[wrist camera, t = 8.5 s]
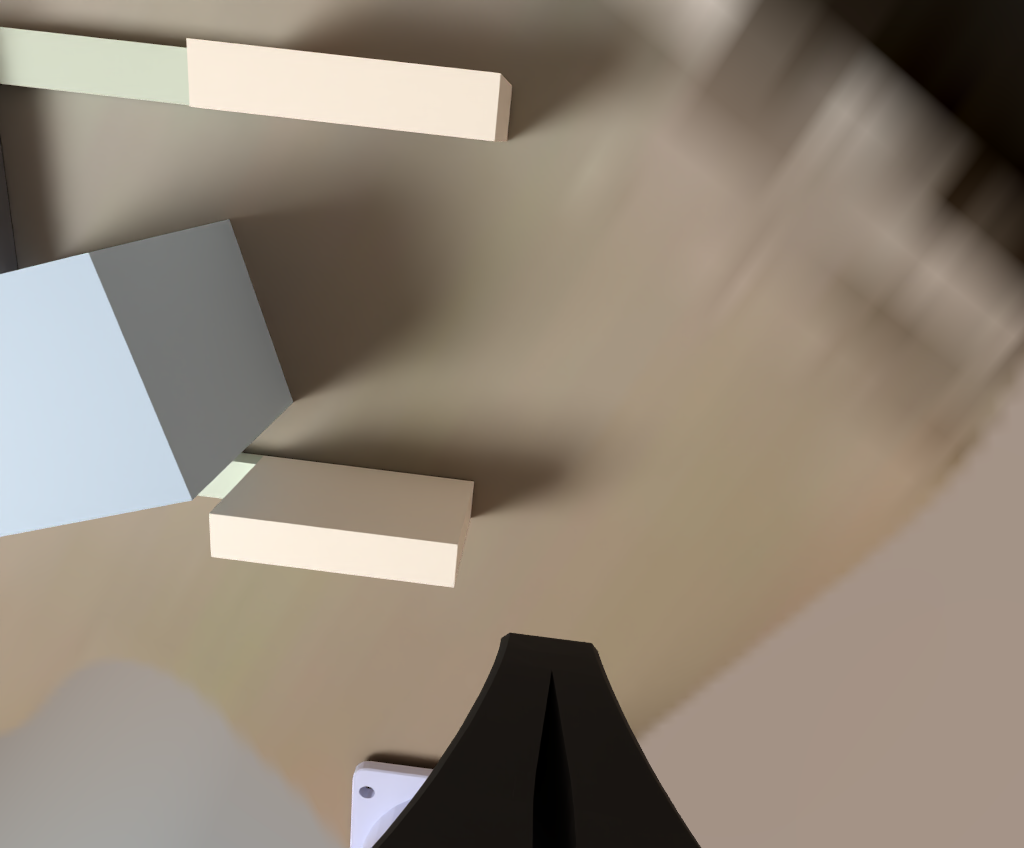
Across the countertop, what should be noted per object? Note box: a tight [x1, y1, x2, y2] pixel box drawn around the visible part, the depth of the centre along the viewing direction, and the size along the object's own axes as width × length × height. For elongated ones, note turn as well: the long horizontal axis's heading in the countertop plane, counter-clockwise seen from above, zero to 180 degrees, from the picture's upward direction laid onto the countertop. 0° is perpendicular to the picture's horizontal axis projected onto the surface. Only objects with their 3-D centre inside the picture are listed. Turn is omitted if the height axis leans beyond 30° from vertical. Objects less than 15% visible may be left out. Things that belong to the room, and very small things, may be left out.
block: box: [0, 219, 293, 537], centre depth 17 cm, size 5×5×6 cm
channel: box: [0, 27, 512, 587], centre depth 18 cm, size 11×12×4 cm
